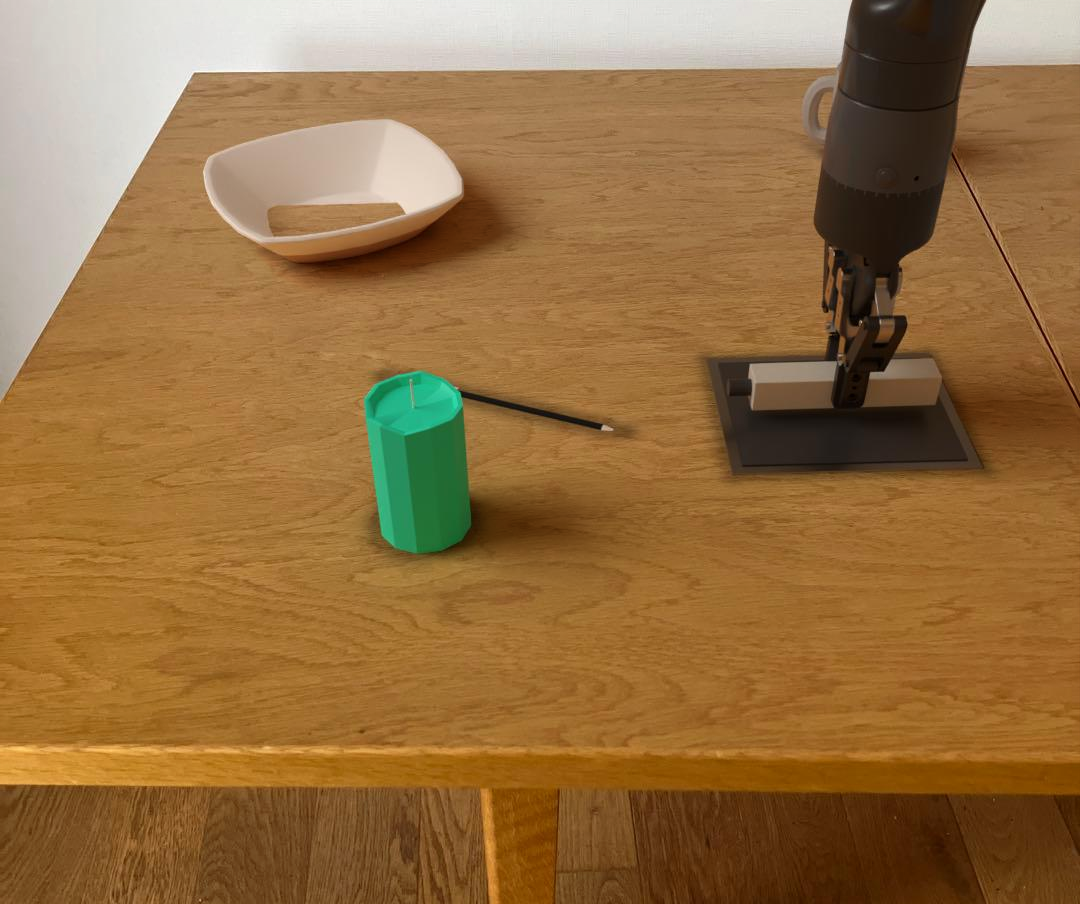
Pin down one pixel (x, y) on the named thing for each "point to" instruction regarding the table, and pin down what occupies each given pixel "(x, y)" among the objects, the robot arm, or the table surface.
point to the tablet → (836, 431)
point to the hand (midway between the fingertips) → (841, 392)
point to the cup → (817, 105)
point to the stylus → (815, 383)
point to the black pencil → (534, 411)
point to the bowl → (334, 184)
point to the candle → (419, 461)
